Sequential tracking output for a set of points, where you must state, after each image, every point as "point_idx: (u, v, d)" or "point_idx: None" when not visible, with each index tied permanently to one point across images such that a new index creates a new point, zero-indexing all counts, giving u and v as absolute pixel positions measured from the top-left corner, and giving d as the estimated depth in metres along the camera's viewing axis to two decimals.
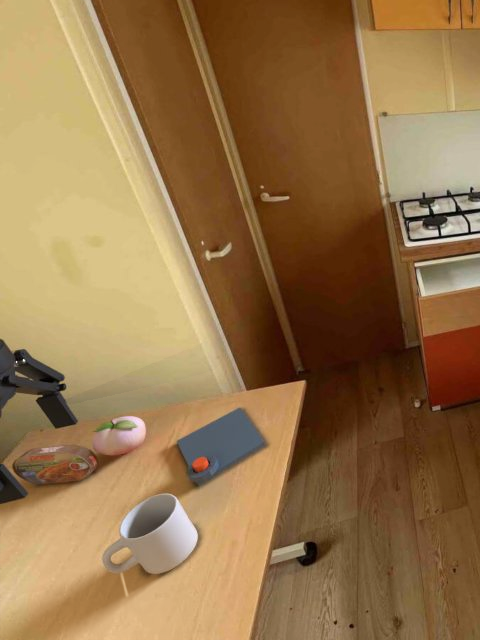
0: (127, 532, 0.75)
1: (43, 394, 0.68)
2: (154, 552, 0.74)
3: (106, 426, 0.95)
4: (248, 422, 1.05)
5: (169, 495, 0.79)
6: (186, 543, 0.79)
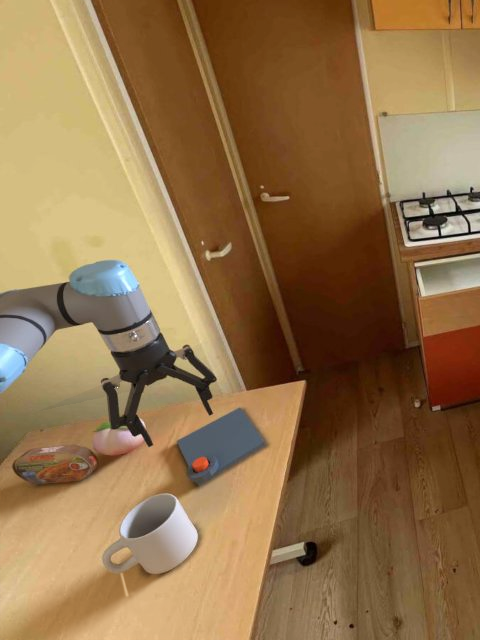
0: (127, 532, 0.75)
1: None
2: (154, 552, 0.74)
3: (106, 426, 0.95)
4: (248, 422, 1.05)
5: (169, 495, 0.79)
6: (186, 543, 0.79)
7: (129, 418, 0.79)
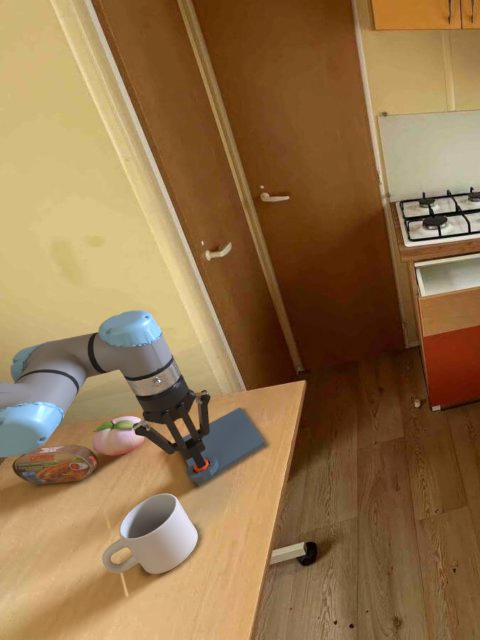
0: (127, 532, 0.75)
1: (192, 438, 0.90)
2: (154, 552, 0.74)
3: (106, 426, 0.95)
4: (248, 422, 1.05)
5: (169, 495, 0.79)
6: (186, 543, 0.79)
7: (180, 445, 0.87)
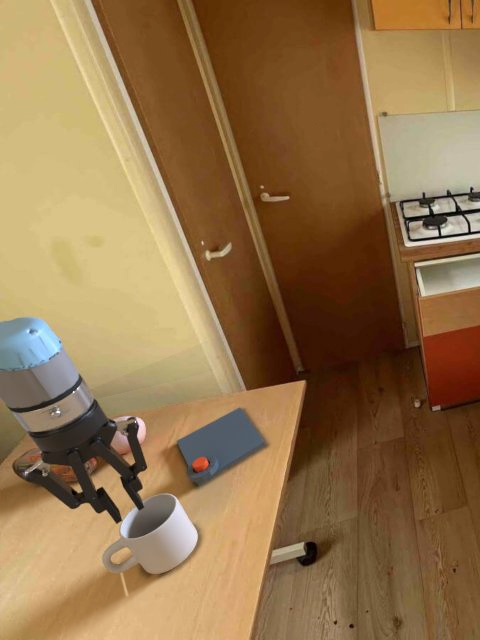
0: (127, 532, 0.75)
1: None
2: (154, 552, 0.74)
3: None
4: (248, 422, 1.05)
5: (169, 495, 0.79)
6: (186, 543, 0.79)
7: (88, 496, 0.67)
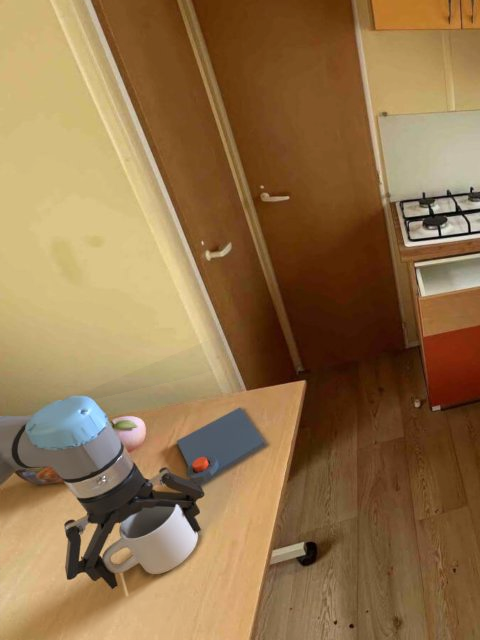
0: (128, 532, 0.75)
1: None
2: (154, 552, 0.74)
3: None
4: (248, 422, 1.05)
5: None
6: (186, 543, 0.79)
7: (89, 563, 0.70)
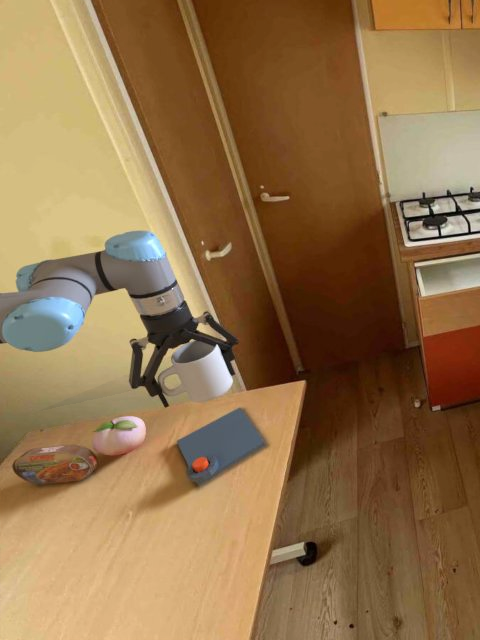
0: None
1: None
2: (199, 379, 0.89)
3: (106, 426, 0.95)
4: (248, 422, 1.05)
5: None
6: (224, 380, 0.93)
7: (148, 379, 0.84)
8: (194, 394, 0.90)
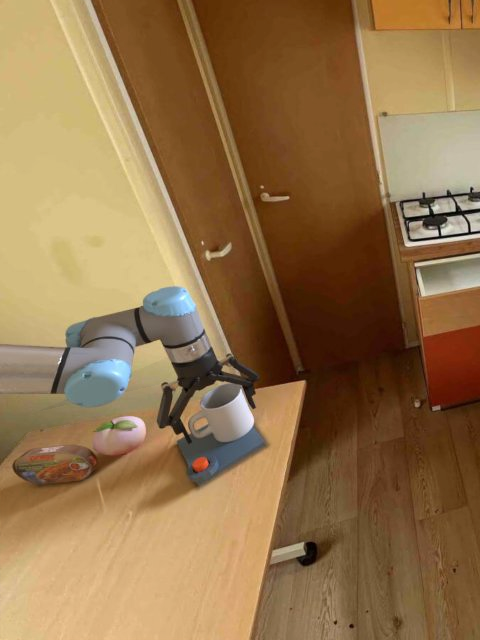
0: None
1: None
2: (225, 422, 0.98)
3: (106, 426, 0.95)
4: None
5: (234, 384, 1.02)
6: (247, 421, 1.02)
7: (175, 419, 0.92)
8: (220, 435, 0.99)
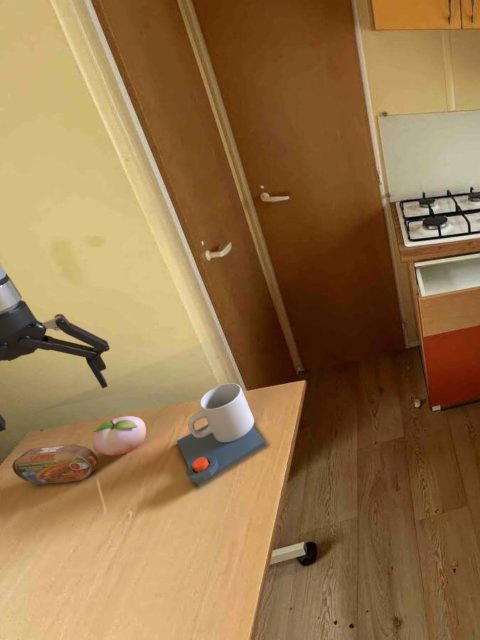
0: None
1: None
2: (225, 422, 0.98)
3: (106, 426, 0.95)
4: None
5: (234, 384, 1.02)
6: (247, 421, 1.02)
7: None
8: (220, 435, 0.99)
